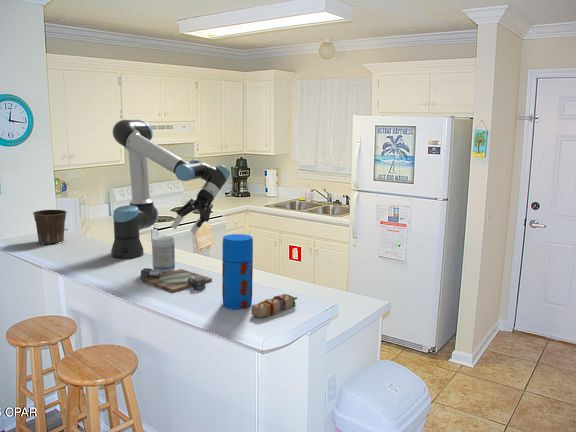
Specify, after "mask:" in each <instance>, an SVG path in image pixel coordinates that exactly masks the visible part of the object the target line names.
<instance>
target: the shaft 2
mask: <svg viewBox="0 0 576 432" xmlns="http://www.w3.org/2000/svg"><path fill="white" fill-rule="evenodd" d="M188 283H191V284H193V287H192V290H194V291H201V290H204V289H206V283H205V278H202V277H199V278H192V277H189V278H188Z"/></svg>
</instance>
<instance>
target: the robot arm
mask: <svg viewBox="0 0 576 432" xmlns="http://www.w3.org/2000/svg"><path fill="white" fill-rule="evenodd" d="M153 132H154V131H153V129H152V127H151V125H150V124H149V123H148V122H146V121H145V120H142V119H141V120H140V119H122V120H119V121H117V122H116V123H115V124H114V126H113V129H112V136H113V139H114V140H115V142H117V143H118V144H119V145H120V146H122V147H124V148H125V150H126V151H127V152H128V161H129V174H130V175H129V176H130V187H131V189H130V190H131V200H130V202H129V205H122V206H118V207H116V208H115V209H114V210H113V215H112V219H113V233H114V234H113V238H114V239H113V242H112V248H111V250H110V257H113V258H116V259H134V258H139V257H142V256H144V247H143V245H142V242H141V240H140V239H141V238H140V231H141V230H144V229H148V228H151V227H152V226H153V225H155V224H156V223H157V221H158V219H159V211H158V210H159V209H158V208H157V207H156V206H155V205H154V201H153V200H152V198H151V197H150V195H151V194H150V182H149V181H150V180H149V168H148V166H149V165H148V159H149V160H151V161H152V162H153V163H156V164H158V165H159V166H161V167H162V168H164V169H166V170H167V171H169V172H171V173H172V174H175V177H176V178H177V179H178V180H179V181H180V182H181V181H182V182H189V181H191V180H196V179H200V180H204V181H205V183H204V184H203V186H202V187H201V189H200V190H199V191H198V193H197V194H196V198H195V200H194V199H193V198H191V199H189V201H188V202H186V203H185V204H184V205H183V206H182V207H181V208H179V209H178V210H177V211H176V212H175V213H176V214H177V216H176V217H175V219H174V220H173V222H172V224H171V225H170V227H171V228H172V229H174V230H176V229H177V228H178V227H179V225H180V224H181V222H183V219H184V218H185V216H187V215H188V214H191V213H192V212H195V211H199V218H197V220H196V221H195V223H194V224H193V225H192V227H191V229H190V232H191V233H192V234H193V235H196V233H197V231H198V230H199V229H200V228H201V227H202V225H203V224H204V223H205V222H207V223H208V222H209V221H210V218H211V217H210V216H211V212H212V208H213V207H214V205H213V204H212V203H213V201H214V200H215V198H216V197H217V196H218V193H220V191H221V189H222V188H223V187H224V186H225V184H226V182H227V181H228V179H229V178H230V176H231V171H230V170H229V168H227V167H226V166H225V165H223V164H218V165H217V166H216V167H215V166H212V165H210V164H207V163H205V162H204V161H202V160H200V159H199V160H198V159H196V158H192V159H191V160H190V161H189V162H188V161H186V160H184V159H183V158H181V157H180V156H178V155H176V154H174V153H172V152H171V151H169V150H168V149H165V148H164V147H162V146H160V145H159V144H157V143H155V142H153V141H152V139H153V135H154V133H153Z"/></svg>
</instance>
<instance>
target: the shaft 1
mask: <svg viewBox="0 0 576 432" xmlns="http://www.w3.org/2000/svg"><path fill="white" fill-rule="evenodd" d="M160 274H161V273H160V272H159V271H154V270H153V268H148V267H147V268H143V269H141V270H140V280H141V281H142V279H143V278H148V277H159V276H160Z"/></svg>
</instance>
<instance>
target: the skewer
mask: <svg viewBox="0 0 576 432" xmlns="http://www.w3.org/2000/svg"><path fill="white" fill-rule="evenodd" d="M296 300H298V297H296V296H292V295H291V294H286V293H282V294H279V295H275V296H273V297H271V298H269V299H268V298H267V299H265V300H263V301H259V303H256V304H253V305H251V306H250V307H251V311H250V312H251V313H250V314H251V316H253V317H256V318H259V319H261V318H264V317H266V316H267V317H269V316H270V315H274V314H278V313H277V312H279V313H280V312H285V311H288V310H289V309H292V308H295V306H296ZM287 309H288V310H287Z"/></svg>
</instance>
